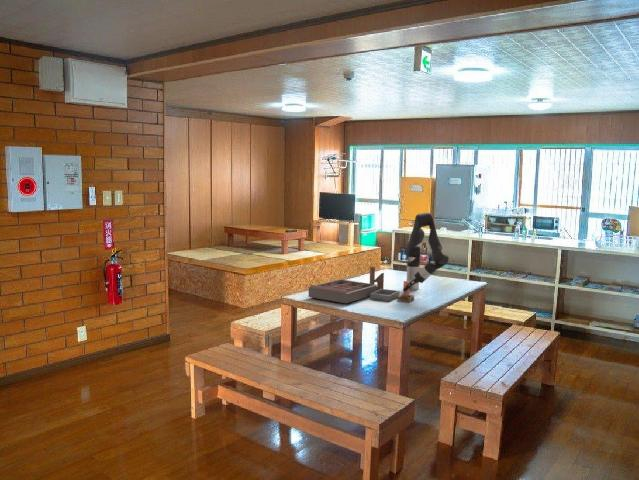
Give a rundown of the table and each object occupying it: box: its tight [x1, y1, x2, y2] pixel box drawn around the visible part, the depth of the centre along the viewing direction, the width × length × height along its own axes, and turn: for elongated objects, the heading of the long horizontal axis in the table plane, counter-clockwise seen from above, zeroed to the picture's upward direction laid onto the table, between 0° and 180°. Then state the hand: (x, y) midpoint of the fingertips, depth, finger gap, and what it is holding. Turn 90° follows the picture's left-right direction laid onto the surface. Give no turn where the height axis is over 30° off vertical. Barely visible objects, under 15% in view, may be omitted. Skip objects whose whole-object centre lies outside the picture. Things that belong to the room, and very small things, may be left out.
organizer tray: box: [307, 279, 377, 304], centre depth 367 cm, size 32×40×10 cm
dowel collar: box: [397, 293, 415, 303], centre depth 360 cm, size 9×9×3 cm
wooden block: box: [369, 265, 385, 291], centre depth 389 cm, size 4×11×18 cm, turn 54°
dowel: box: [402, 280, 410, 297], centre depth 360 cm, size 4×4×13 cm
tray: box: [369, 288, 401, 303], centre depth 367 cm, size 20×14×4 cm
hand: (405, 289), depth 360 cm, fingers open, 8 cm apart
